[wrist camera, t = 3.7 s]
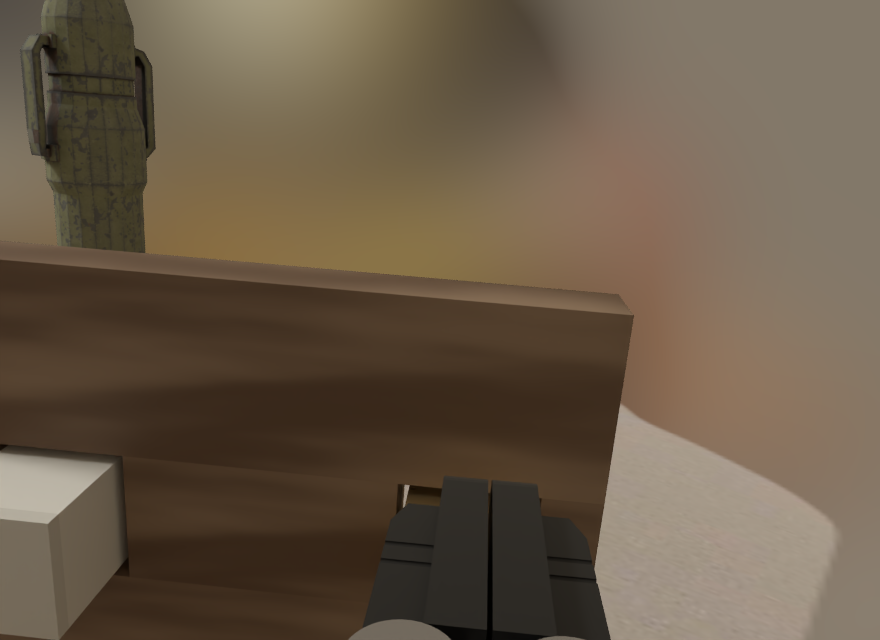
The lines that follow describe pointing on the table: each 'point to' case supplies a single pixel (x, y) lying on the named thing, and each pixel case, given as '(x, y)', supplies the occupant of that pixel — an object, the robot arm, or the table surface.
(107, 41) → the thermos
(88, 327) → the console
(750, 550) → the table surface
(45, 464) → the key white
